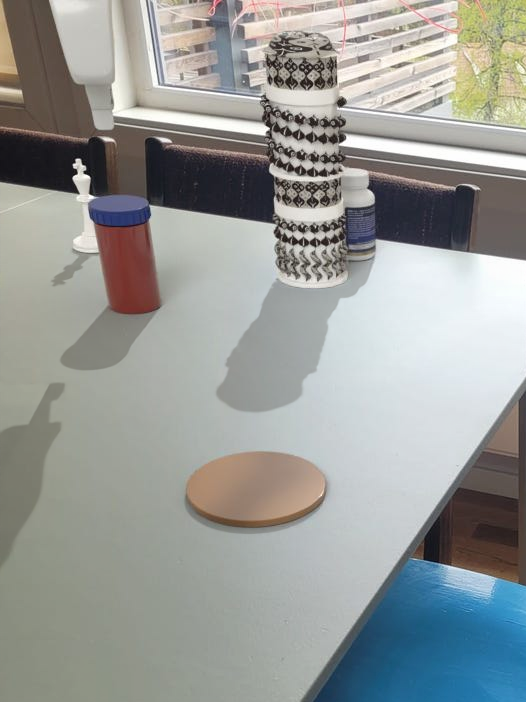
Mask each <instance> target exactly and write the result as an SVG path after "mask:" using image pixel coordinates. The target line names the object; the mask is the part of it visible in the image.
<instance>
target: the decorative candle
mask: <svg viewBox="0 0 526 702" xmlns="http://www.w3.org/2000/svg"><path fill="white" fill-rule="evenodd" d="M261 52H263V53H264V58H265V63H264V64H265V74H266V80H265V82H264V87H265V92H264V93H262V94H261V97H260V100H259V105H260V107H262V108H263V112H262V113H263V114H262V115H261V120H262V122H263V125H264V126H265V127H267V128H268V130H266V131H265V135H264V142H265V143H266V144H267V146H268V147H267V150H266V151H265V155H266V157H267V160H268V162H270V165H269V168H268V170H269V174H271V175H272V176H273V179H274V180H273V185H274V187H273V188H274V192H275V195H274V197H273V206H274V213H273V215H272V217H271V219H272V221H273V224H274V225H276V226H275V228H274V230H273V235H274V237H275V238H276V239H277V241H276V243H275V244H274V247H273V249H274V250H273V251H274V253H275V254H276V255H277V256H276V258H275V260H274V261H275V266H276V268H277V273H276V277H277V279H278V280H279V281H280V282H281V283H283V284H285V285H287V286H290V287H294V288H300V289H301V288H302V289H326V288H327V289H328V288H332V287H333V288H334V287H336V286H339V285H342V284H344V283H345V282H346V281H347V280H348V279H349V273H348V270H347V269H348V265H349V260H347V258H346V255H347V253H346V252H347V251H348V247H347V246H346V243H345V242H344V241H343V240H344V239H345V238H346V235H347V231H346V230H345V228H344V227H343V226H344V225H345V222H346V221H347V218H346V216H345V214H344V213H343V198H342V197H341V176H342V175H344V169H345V166H344V165H343V164H341V163H343V162H345V160H346V159H347V156H346V153H343V152H342V151H341V150H340V148H339V147H340V144H342V143H343V142H345V141H347V135H346V134H345V133H343V132H342V131H341V129H342V128H343V127H345V126H346V124H347V119H346V118H345V117H343V116H342V115H341V114H339V115H338V109H339V110H340V109H342V108H343V107H344V106H346V105H347V103H348V101H347V99H346V98H345V97H344V96H343V95H341V96H340V83H339V82H338V57H337V56H339V55H340V54H341V51H339V50H338V49H336V48H335V47H334V45H333V44H332V42H331V40H330V38H329V37H328V36H327V35H326V34H323V33H322V32H321V33H320V32H317V31H307V30H283V31H282V30H281V31H279V32H275V33H274V34H273V35H272V36H271V39H270V41H269V43H268V45H267V46H266V47H263V48H262V50H261ZM339 130H340V131H339Z"/></svg>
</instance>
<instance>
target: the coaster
mask: <svg viewBox="0 0 526 702" xmlns="http://www.w3.org/2000/svg"><path fill="white" fill-rule="evenodd" d="M185 491H186V498H187V502H188V504H189V506H190V507H191V508H192V509H193V511H195V512H196V514H198V515H199V516H201V517H203V518H205V519H207V520H209V521H212V522H214V523H218V524H221V525H226V526H231V527H238V528H239V527H240V528H264V527H271V526H277V525H282V524H285V523H289V522H292V521H295V520H298V519H300V518H302V517H304V516H306V515H308V514H309V513H311V512H313V511H314V510H315V509H316V508H317V507H318V506H319V505H321V503H322V501H323V500H324V498H325V496H326V493H327V492H326V491H327V483H326V477H325V475H324V474H323V472H322V471H321V469H320V468H319V467H318V466H317V465H315V464H314V463H312V462H311V461H309V460H307V459H305V458H302V457H300V456H296V455H294V454H289V453H285V452H277V451H266V450H265V451H264V450H261V451H260V450H259V451H258V450H257V451H244V452H238V453H232V454H230V455H229V454H228V455H225V456H221V457H218V458H216V459H213V460H211V461H209V462H207V463H205V464H203V465H201V466H200V467H199V468H198V469H196V470H195V471H194V472H193V473H192V474H191V475H190V477H189V478H188V481H187V483H186V487H185Z"/></svg>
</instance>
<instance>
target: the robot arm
mask: <svg viewBox="0 0 526 702" xmlns="http://www.w3.org/2000/svg"><path fill="white" fill-rule="evenodd" d="M48 2H49V5H50V9H51V13H52V16H53V21H54V23H55V27H56V31H57V34H58V38H59V42H60V46H61V49H62V52H63V57H64V59H65V62H66V65H67V68H68V71H69V74H70V76H71V78H72V80H73V82H74V83H75V84H76V85H84V88H85V89H84V90H85V93H86V97H87V100H88V103H89V106H90V110H91V113H92V120H93V125H94V127H95V129H97V130H99V131H112V130H113V129H114V128H115V119H114V113H113V110H114V109H115V100H114V92H113V84H114V83H115V81H116V57H115V56H116V53H115V51H116V49H115V48H116V47H115V46H116V41H115V40H116V39H115V33H114V24H113V23H114V22H113V0H48Z"/></svg>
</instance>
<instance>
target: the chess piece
mask: <svg viewBox="0 0 526 702" xmlns="http://www.w3.org/2000/svg"><path fill="white" fill-rule="evenodd" d="M72 168H73V169H75V170H76V171H77V174H75V175H73V176H72V181H73V183H74V185H75V186H76V189H77V191H78V193H79V195H77V196H76V198H75V201H76V202H78V203H81V205H82V206H81V207H82V217H83V220H82V221H83V231H82V232H81V235H79V236H77V237H74V239H73V240H72V244H73V245H72V248H73V249H74V250H75V251H76V252H80V253H86V254H99V251H98V246H97V240H96V235H95V229H94V224H93V221H92V220H91V219H90V216H89V211H88V203H89V202H90V201H91V200H93V199H95V198H96V197H95V196H94V195H91V194H90V186H91V180H92V179H91V177H90V176H89V175H88V174H85V173H84V172H85V171H87V166H86V165H83V163H82V159H81V158H76V159H75V163H72Z"/></svg>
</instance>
